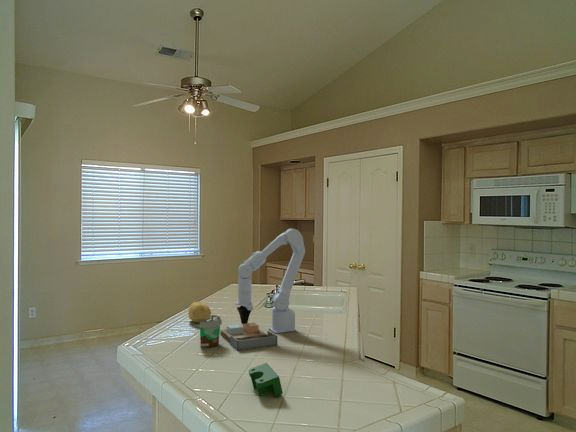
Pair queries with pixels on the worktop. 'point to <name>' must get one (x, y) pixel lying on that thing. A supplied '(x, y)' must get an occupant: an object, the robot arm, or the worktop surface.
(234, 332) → the pale blue block
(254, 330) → the terracotta tile
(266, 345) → the tray
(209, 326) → the food container
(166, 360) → the worktop surface
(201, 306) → the potato
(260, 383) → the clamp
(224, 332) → the walnut board
